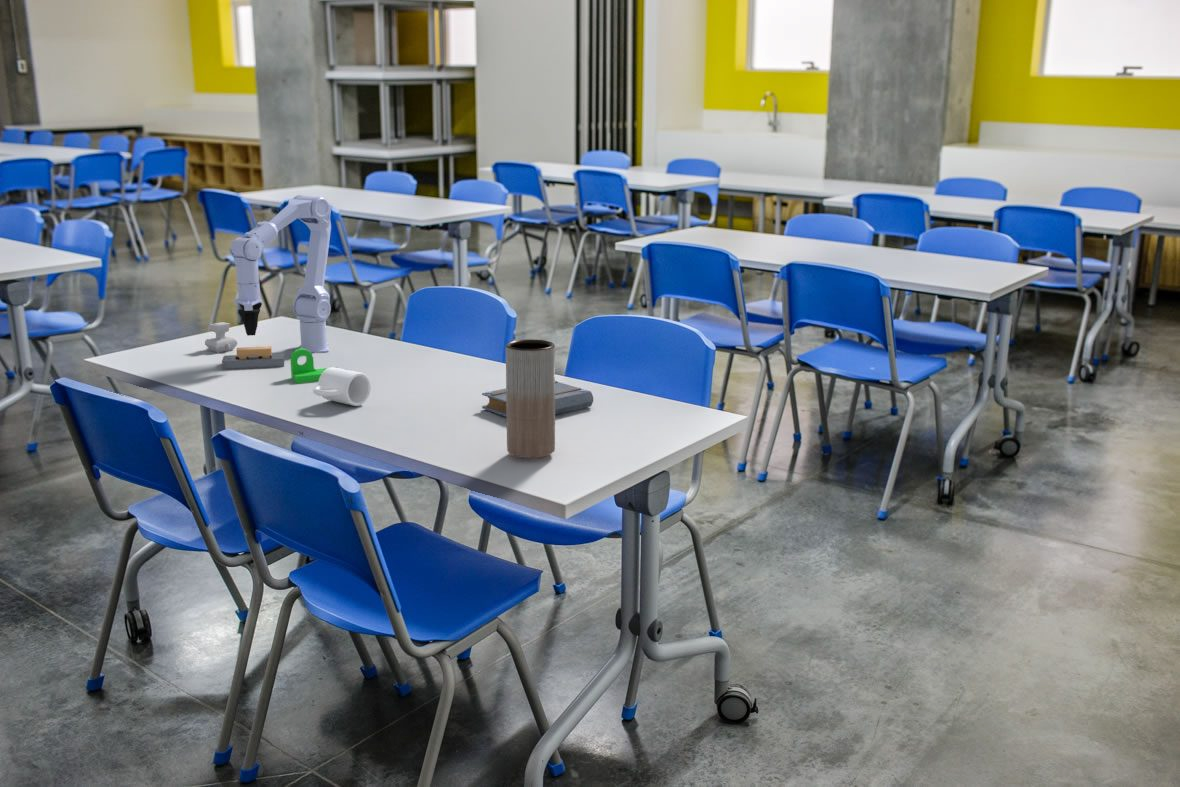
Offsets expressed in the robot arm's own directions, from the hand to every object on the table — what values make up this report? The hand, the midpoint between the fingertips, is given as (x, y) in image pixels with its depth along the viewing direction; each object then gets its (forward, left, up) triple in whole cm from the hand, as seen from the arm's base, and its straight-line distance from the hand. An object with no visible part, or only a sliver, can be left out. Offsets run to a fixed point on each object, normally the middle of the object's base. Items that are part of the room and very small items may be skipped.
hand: (251, 332), depth 301 cm
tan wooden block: (0, 0, -9) cm, 9 cm away
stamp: (-20, -10, -10) cm, 24 cm away
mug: (+45, +22, -10) cm, 51 cm away
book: (+58, +68, -10) cm, 90 cm away
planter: (+91, +60, -10) cm, 109 cm away
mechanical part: (+18, +17, -10) cm, 26 cm away
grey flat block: (0, 0, -9) cm, 9 cm away
